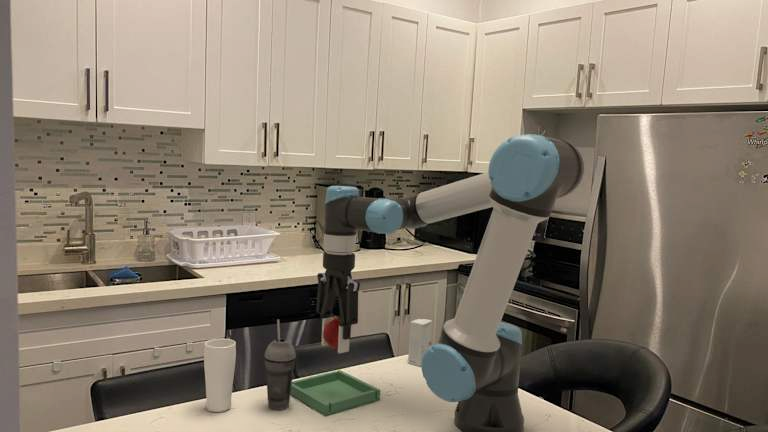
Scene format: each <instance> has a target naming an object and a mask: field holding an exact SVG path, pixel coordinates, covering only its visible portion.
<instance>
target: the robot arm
mask: <svg viewBox="0 0 768 432" xmlns="http://www.w3.org/2000/svg"><path fill="white" fill-rule="evenodd" d="M488 164H489V165H488V171H486V172H484V173H480V174H478V175H474V176H473V175H472V176H470V177H468V178H464V179H461V180H457V181H454V182H451V183H449V184H444V185H440V186H438V187H435V188H431V189H429V190H426V191H425V190H424V191H422V192H419V193H415V194H412V195H408V196H404V197H379V198H377V197H376V198H375V197H364V196H363V197H362V196H360V194H359V189H358V188H357V186H347V185H331V186H328V187H327V189H326V193H325V194H326V195H325V202H324V230H323V232H324V233H323V243H322V244H323V246H322V249H323V250H324V252H323V254H322V267H323V268H324V269H325V270H324V271H325V272H319V273H317V294H316V295H317V296H316V306H315V308H316V309H315V312H316V314H318V315H320V318H321V343H320V345H321V346H323V347H325V346H330V345H329V344H328V343H327V342H326V341H325V339H324V337H323V332H324V329H325V327H326V325H327V324H328V323H329V322H330V321H332V320H333V318H334V314H333V310H334V306H335V305H334V304H335V302H336V298H337V301H338V305H339V306H338V307H339V313H340V321H341V323H342V324H339V336H338V348H337V354H342V353H347V352H350V339H351V335H352V326H353V325H357V324H358V323H359V290H360V287H361V282H360V281H356V282H355V280H353V276H352V271H353V270H354V269H355V267H356V254H355V253H354V252H355V251H356V245H357V244H356V243H357V232H358V231H357V230H359V231H364V232H365V231H366V232H371V233H376V234H379V235H381V234H387V235H391V234H394V233H396V232H397V231H398V230H406V229H407V230H409V229H412V230H415V229H420V228H423V227H426V226H427V225H428V224H433V223H436V222H440V221H443V220H448V219H451V218H455V217H458V216H459V217H460V216H463V215H466V214H470V213H474V212H477V211H481V210H486V209H489V208H493V209H492V212H491V214H490V218H489V220H488V223H487V226H486V229H485V232H484V234H483V237H482V239H481V242H480V245H479V248H478V251H477V254H476V257H475V260H474V262H473V266H472V267H471V271H470V273H469V276H468V280H467V282H466V284H465V288H464V291H463V294H462V296H461V299H460V302H459V305H458V308H457V311H456V313H455V316H454V318H452V319H449V320H447V321H445V323H444V325H443V327H442V330H441V332H440V335H439V338H438V341H437V343H434V344H431V347H430V348H429V349H427V350H426V352H425V353H424V355H423V358H422V366H421V372H422V377H423V378H424V380H425V381H426V382H425V383H426V386H427V387H428V388H429V390H430V391H431V392H432V393H433V394H434V395H435V396H436V397H437V398H439V399H441V400H442V401H444V402H448V403H457V405H456V407H455V409H454V420H453V422H454V424H455V426H456V427H457V428H458V430H461V431H462V432H524V430H525V429H524V427H525V417H524V414H523V411H522V407H521V402H520V398H519V384H520V382H519V381H520V372H521V371H520V368H521V359H522V347H523V339H522V338H523V332H522V330H521V328H519V327H518V326H516V325H514V324H512V323H509V322H508V323H507V322H505V321H502V319H503V316H504V314H505V311H506V309H507V306H508V303H509V301H510V297H511V295H512V293H513V290H514V287H515V285H516V282H517V280H518V278H519V275H520V273H521V272H520V271H521V269H522V267H523V264H524V261H525V258H526V256H527V253H528V251H529V247H530V246H531V243H532V240H533V237H534V235H535V232H536V229H537V227H538V224H539V223H542V222H543V221H546V220H548V219H549V218H550V216H551V214H552V211H553V208H554V207H555V203H556V201H557V199H559V198H563V197H565V196H568V195H569V194H571V193H573V192H574V191H575V190H576V189H577V188H578V187H579V186H580V184H581V182H582V180H583V178H584V174H585V161H584V159H583V156H582V154H581V152H580V150H579V149H578V148H577V147H576V146H575V145H574V144H573V143H571V142H569V141H567V140H565V139H561V138H556V137H550V136H543V135H538V134H535V133H532V134H531V133H530V134H529V133H527V134H519V135H515V136H511V137H509V138H507V139H506V140H505V141H503V142H501V144H500V145H499V146H497V147H496V149H495V151H494V152H493V153H492V155H491V158H490V160H489V163H488Z"/></svg>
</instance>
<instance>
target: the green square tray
mask: <svg viewBox="0 0 768 432" xmlns="http://www.w3.org/2000/svg"><path fill="white" fill-rule="evenodd" d="M290 397H292V398H294V399H296V400H297V401H299V402H300V403H303V404H304V405H306V406H307V407H309V408H311V409H312V410H314V411H315V412H318V414H319V413H320V415H322V416H324V417H328V416H330V415H334V414H339V413H341V412H344V411H345V412H346V411H347V410H352V409H354V408H357V407H361V406H365V405H368V404H371V403H376V402H377V401H380V400H381V389H380V388H378V387H375V386H374V385H371V384H370V383H367V382H365V381H363V380H361V379H359V378H358V377H357V378H356V377H355V376H352V375H351V374H349V373H347V372H345V371H343V370H341V369H338V370H336V371H330V372H326V373H322V374H318V375H314V376H309V377H305V378H302V379H298V380H292V385H291V393H290Z"/></svg>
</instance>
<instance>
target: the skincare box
mask: <svg viewBox="0 0 768 432" xmlns="http://www.w3.org/2000/svg"><path fill="white" fill-rule="evenodd" d="M432 333H433V321H432V319H426V318H422V317H419V318H418V319H413V320H412V321H410V322H409V337H408V353H407V354H408V356H407V358H408V359H407V363H408V364H410V365H413V366H416V367H422V358H423V355H424V353H425V352H426V350H427V349H429V348H430V347H431V346H432V336H433V335H432Z"/></svg>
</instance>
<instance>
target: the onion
mask: <svg viewBox="0 0 768 432" xmlns="http://www.w3.org/2000/svg"><path fill="white" fill-rule="evenodd" d="M339 324H342V323H341V319H339V318H338V316H336V315H333V320H332V321H330V322H329V323H328V324H327V325H326V327H325V329H324V332H323V337H324V339H325V341H326V342H327V343H328V344H329V345H328V346H329V347H330V348H331V349H333V350H336V349H337V350H338V336H339Z"/></svg>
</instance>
